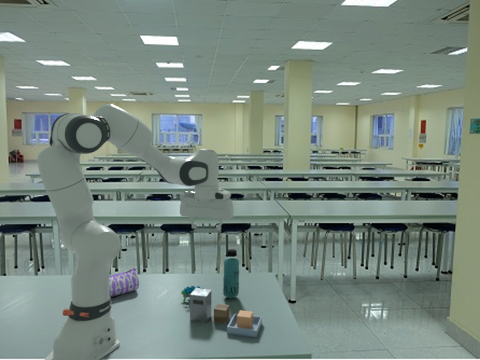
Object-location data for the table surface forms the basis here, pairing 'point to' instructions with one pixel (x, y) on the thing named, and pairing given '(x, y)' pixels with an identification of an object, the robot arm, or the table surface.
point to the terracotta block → (245, 319)
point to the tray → (252, 332)
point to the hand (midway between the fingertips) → (206, 229)
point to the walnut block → (221, 313)
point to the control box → (200, 305)
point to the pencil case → (123, 282)
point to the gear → (188, 292)
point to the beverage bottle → (231, 274)
